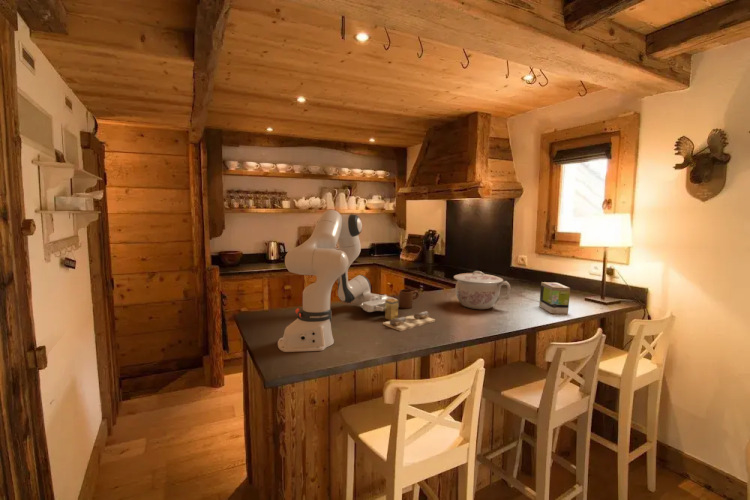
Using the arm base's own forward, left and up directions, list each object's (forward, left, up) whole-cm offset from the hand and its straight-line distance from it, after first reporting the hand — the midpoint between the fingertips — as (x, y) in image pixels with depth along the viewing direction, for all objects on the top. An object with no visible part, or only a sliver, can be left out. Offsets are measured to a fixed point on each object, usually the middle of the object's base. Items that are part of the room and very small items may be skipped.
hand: (390, 307), depth 187 cm
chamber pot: (+56, +7, -6) cm, 57 cm away
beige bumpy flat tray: (+6, -10, -5) cm, 13 cm away
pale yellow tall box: (0, -1, -5) cm, 5 cm away
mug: (+18, +17, -6) cm, 26 cm away
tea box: (+94, -11, -6) cm, 95 cm away
